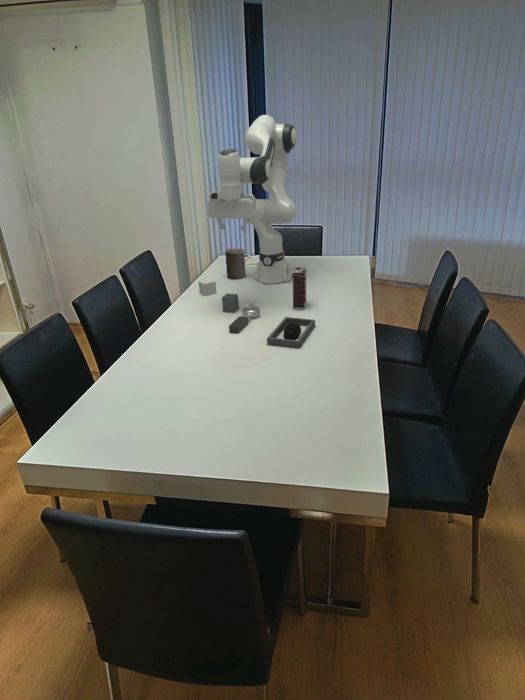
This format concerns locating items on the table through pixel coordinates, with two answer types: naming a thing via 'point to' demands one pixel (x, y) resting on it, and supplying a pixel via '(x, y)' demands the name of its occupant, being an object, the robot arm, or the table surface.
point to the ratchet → (245, 318)
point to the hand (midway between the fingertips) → (233, 229)
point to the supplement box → (299, 288)
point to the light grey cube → (207, 287)
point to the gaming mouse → (292, 331)
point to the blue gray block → (230, 303)
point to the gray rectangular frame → (285, 342)
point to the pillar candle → (235, 263)
